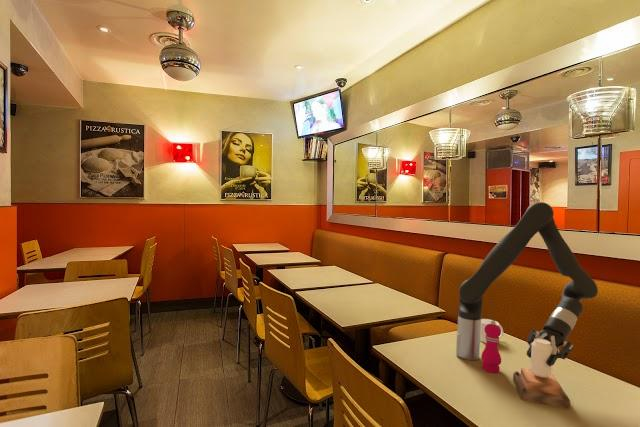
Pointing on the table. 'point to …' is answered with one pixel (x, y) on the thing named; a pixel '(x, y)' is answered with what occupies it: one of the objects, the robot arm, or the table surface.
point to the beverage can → (541, 357)
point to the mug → (482, 332)
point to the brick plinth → (540, 395)
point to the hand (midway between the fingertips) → (538, 360)
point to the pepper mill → (491, 349)
